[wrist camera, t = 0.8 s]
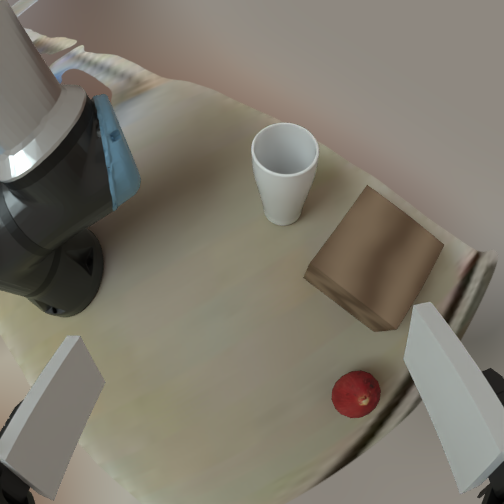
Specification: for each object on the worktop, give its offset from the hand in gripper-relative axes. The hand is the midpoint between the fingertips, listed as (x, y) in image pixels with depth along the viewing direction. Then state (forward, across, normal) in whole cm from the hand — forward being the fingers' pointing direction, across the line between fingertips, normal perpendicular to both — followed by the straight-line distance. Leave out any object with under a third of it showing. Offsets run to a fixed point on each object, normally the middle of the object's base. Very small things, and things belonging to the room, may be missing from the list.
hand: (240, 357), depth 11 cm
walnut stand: (+27, +13, -12) cm, 33 cm away
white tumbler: (+34, +3, -4) cm, 34 cm away
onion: (+17, +9, -24) cm, 31 cm away
